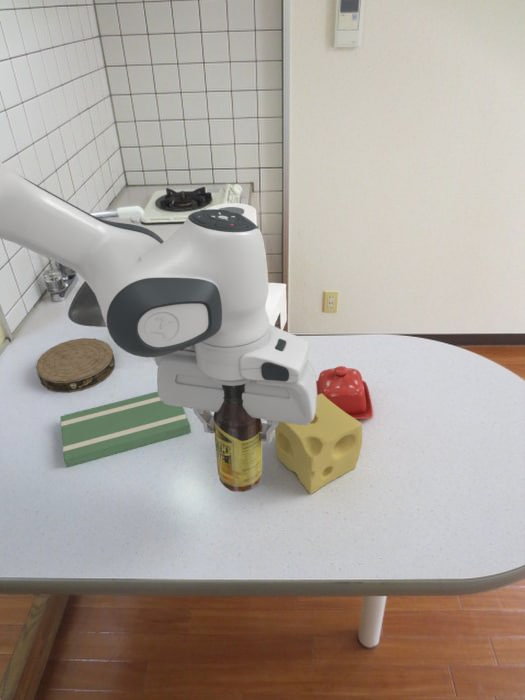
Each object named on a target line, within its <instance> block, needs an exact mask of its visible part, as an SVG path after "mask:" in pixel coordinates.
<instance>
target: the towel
mask: <svg viewBox="0 0 525 700" xmlns="http://www.w3.org/2000/svg"><path fill="white" fill-rule="evenodd" d="M60 427H61V429H60V430H61V439H62V441H61V442H62V452H63V460H64V464H65V465H66V468H70V467H73V466H76V465H80V464H84V463H87V462H91V461H95V460H98V459H102V458H105V457H109V456H112V455H116V454H119V453H123V452H126V451H130V450H134V449H137V448H142V447H146V446H148V445H151V444H152V445H153V444H155V443H159V442H162V441H165V440H170V439H173V438H176V437H177V438H178V437H180V436H183V435H184V436H185V435H188V434H191V432H192V431H191V424H190V422H189V419H188V416H187V414H186V412H185V409H184V407H178V406H171V405H166V404H164V403H163V402H162V401H161V400H160V398H159V396H158V391H154V392H149V393H147V394H142V395H138V396H134V397H131V398H125V399H123V400H119V401H114V402H111V403H107V404H103V405H99V406H94V407H92V408H88V409H84V410H80V411H75V412H73V413H68V414H64V415H60Z"/></svg>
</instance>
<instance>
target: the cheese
mask: <svg viewBox="0 0 525 700" xmlns="http://www.w3.org/2000/svg"><path fill="white" fill-rule="evenodd" d="M274 432H275V433H274V441H275V452H276V458H277V459H278V460H279V461H280V462H281V463H282V464H283V466H285V468H287V469H288V470H289V471H290V472H291V473H295V474H296V476H297V479H298V481H299V482H300V484H301V485H302V486H303V487H304V488H305V490H306V491H307V492H308V493H309V494H310V495H312V494H314V493H316V492H317V491H319V490H320V489H321V488H323V487H325V486H326V485H328V484H329V483H331V482H333V481H335V480H336V479H338V478H339V477H342V476H344V475H345V474H347V473H348V472H351V471H353V470H355V469H356V467H357V463H358V460H359V457H360V455H361V451H362V450H361V449H362V444H363V424H362V422H361V421H359V419H355V418H353V417H352V416H350V415H348V414H347V413H345V412H344V411H343V410H341V409H340V408H339V407H337V406H336V405H335V404H334V403H332V402H331V401H330V400H329V399H327V398H326V397H325V396H324V395H323V394H319V395H317V408H316V413H315V416H314V419H313V421H311V422H310V423H309V424H308V425H299V424H292V423H285V422H279V424H278V426H277V427H276V429H275V430H274Z"/></svg>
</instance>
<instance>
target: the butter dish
mask: <svg viewBox="0 0 525 700" xmlns="http://www.w3.org/2000/svg"><path fill="white" fill-rule="evenodd" d="M316 384H317V395H319V394H323V395H324V396H325V397H326V398H327V399H329V400H330V401H331V402H332V403H334V404H335V405H336V406H337V407H339V408H340V409H341V410H343V411H344V412H345V413H347V414H348V415H350V416H352V417H353V418H355V419H356V420H368V419H372V418H373V416H374V410H373V405H372V400H371V395H370V391H369V386H368V385H367V382H366V381H365V380H363V376H362V374H361V373H360V371H359V370H358V369H356V368H351V367H346V366H345V365H339V366H336V367H333V368H327V369H325V370H322V371H321V372H320V373H319V375H318V378H317V380H316Z"/></svg>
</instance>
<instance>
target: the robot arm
mask: <svg viewBox="0 0 525 700" xmlns="http://www.w3.org/2000/svg"><path fill="white" fill-rule="evenodd" d="M206 209H207V208H206ZM0 240H5V241H8V242H11V243H13V244H15V245H18V246H20V247H22V248H24V249H26V250H29V251H31V252H34V253H36V254H38V255H40V256H42V257H45V258H47V259H49V260H51V261H52V262H53V261H54V262H55V263H58V264H60V265H62V266H64V267H66V268H68V269H71V271H74V272H75V273H76V274H78V275H79V276H80V277H81V279H83V280H84V281H85V282H86V284H87V285H88V286H89V288H90V290H91V291H92V293H94V295H95V298H96V301H97V303H98V306H99V309H100V312H101V316H102V318H103V321H104V323H105V325H106V328H107V331H108V333H109V334H108V335H110V337H111V339H112V341H113V342H114V343H115V344H116V345H117V346H118V347H119V348H120V349H122V350H123V351H125V352H126V353H128V354H130V355H133V356H136V357H141V358H154V362H155V365H156V366H157V370H156V371H157V374H156V386H157V387H156V388H157V392H158V396H159V398H160V400H161V401H162V402H163V403H164V404H166V405H171V406H178V407H183V409H184V408H185V409H192V412H193V415H194V416H196V418H197V419H198V420H199V422H200V423H201V424H203V431H204V433H207V434H208V433H209V434H214V435H215V433H214V419H213V416H214V414H212V413H214V412H218V411H219V409H220V407H221V405H222V404H223V402H224V399H223V397H224V390H223V389H222V385H227V386H237V385H243V384H245V392H244V393H242V400H243V407H244V409H245V410H246V412H247V413H248V414H249V415H250V416H251V417H252V418H258V419H261V420H266V422H262V428H261V430H260V431H259V436H260V438H259V440H260V441H262V442H265V443H272V441H273V437H274V432H275V429H276V427H277V426H278V424H279V422H285V423H292V424H299V425H308V424H309V423H310V422H311V421H313V419H314V416H315V413H316V408H317V384H316V381H317V379H316V373H315V369H314V367H313V365H312V363H311V362H310V361H309V360H308V358H309V349H310V344H309V342H308V340H306V339H305V338H303V337H300V336H298V335H295V334H293V333H291V332H288V331H286V330H284V329H283V330H281V328H279V327H277V326H276V325H275V326H273V325H271V324H269V318H268V315H267V313H266V309H265V304H266V300H267V297H268V282H269V274H268V261H267V254H266V252H267V251H266V247H265V242H264V237H263V234H262V231H261V230H260V228H259V226H258V225H257V226H256V225H255V224H254V223H253V222H252V221H250V220H249V219H248V218H246V217H244V216H243V215H241V214H238V213H234V212H230V211H226V210H217V209H207V210H205V209H200V210H198V211H194V212H191V213H190V214H188V216H187V217H186V219H185V221H184V222H183V224H181V226H180V227H179V228H178V229H177V230H176V231H174V233H172V235H170V236H169V237H168V238H167V239H166V240H165V241H164V239H162V237H160V236H159V235H158V234H157V233H155V232H154V231H152V230H150V229H149V228H147V227H143V226H141V225H138V224H137V225H136V224H131V223H126V222H125V223H124V222H117V221H111V220H106V219H103V218H101V217H98V216H95V215H92V214H91V213H89V212H87V211H85V210H84V209H81V208H80V207H78V206H76V205H74V204H72V203H71V202H69V201H66V200H65V199H63V198H61V197H60V196H58V195H57V194H54V193H52V192H50V191H48V190H47V189H45V188H43V187H42V186H40V185H38V184H36V183H34V182H32V181H30V180H29V179H27V178H25V177H23V176H21V175H20V174H18V173H17V172H15V171H14V170H13V169H11V168H10V167H8V166H7V165H6V164H5V163H3V162H2V161H0Z"/></svg>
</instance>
